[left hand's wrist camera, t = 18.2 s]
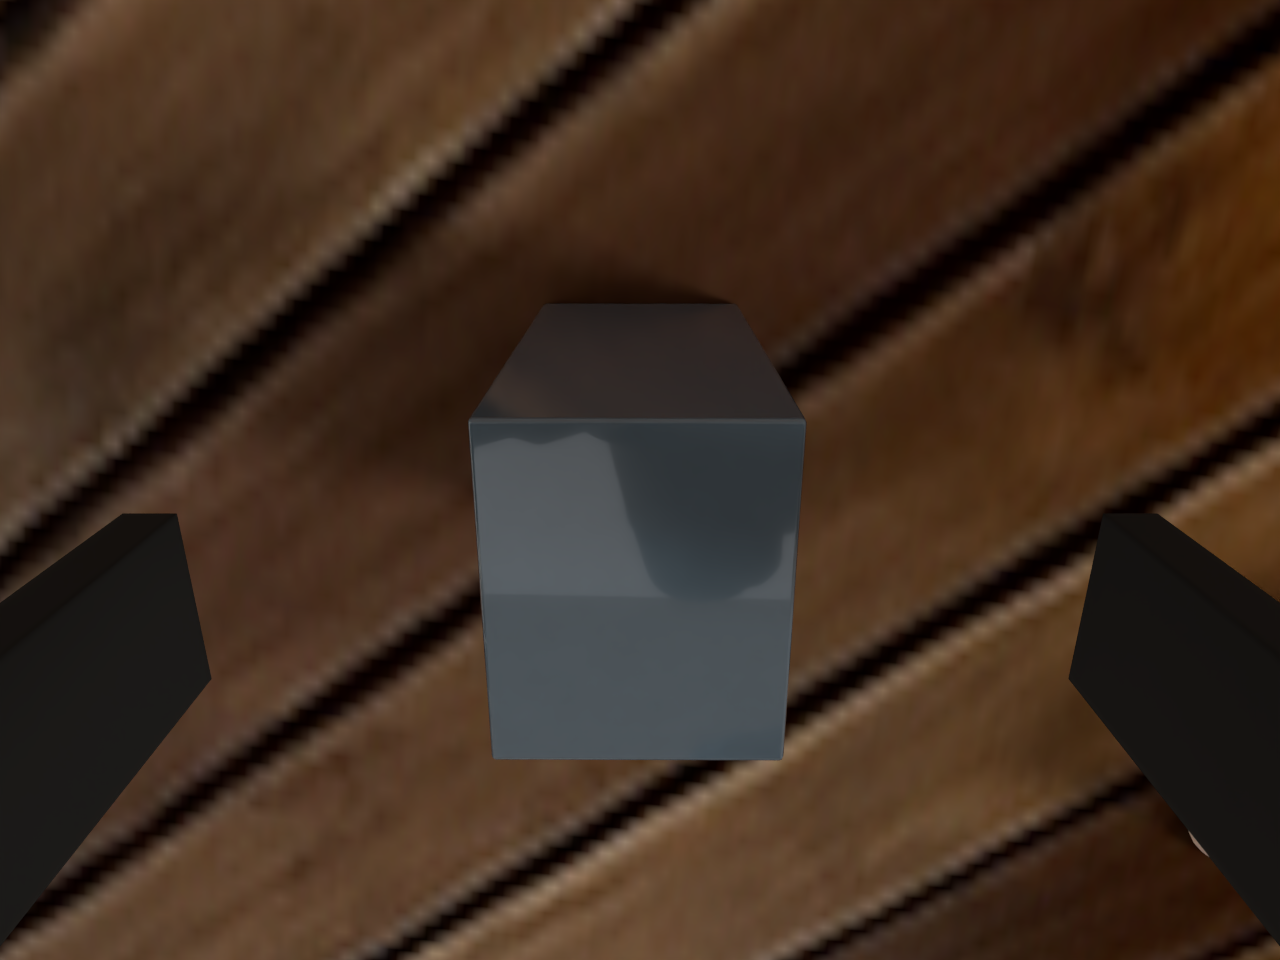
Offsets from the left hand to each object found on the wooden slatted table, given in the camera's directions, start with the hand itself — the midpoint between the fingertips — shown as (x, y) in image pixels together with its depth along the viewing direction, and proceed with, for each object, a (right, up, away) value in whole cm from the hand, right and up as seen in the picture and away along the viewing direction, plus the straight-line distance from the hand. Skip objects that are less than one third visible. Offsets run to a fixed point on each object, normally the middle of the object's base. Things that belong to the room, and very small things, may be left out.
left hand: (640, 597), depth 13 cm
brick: (0, +3, +10) cm, 10 cm away
